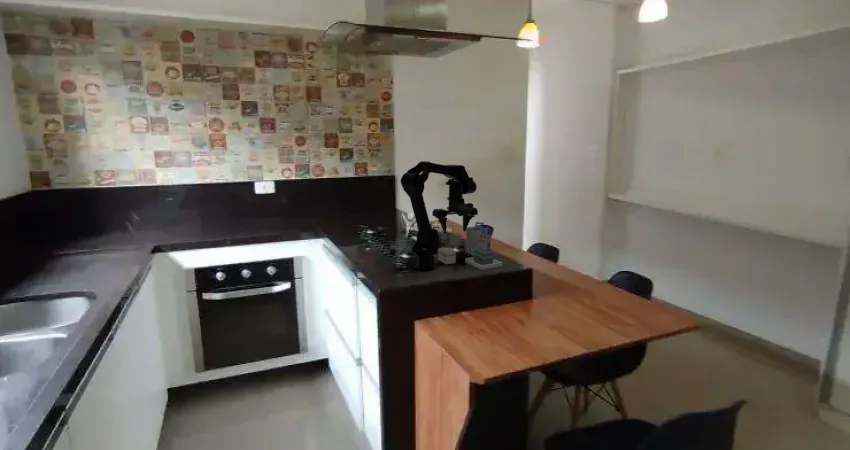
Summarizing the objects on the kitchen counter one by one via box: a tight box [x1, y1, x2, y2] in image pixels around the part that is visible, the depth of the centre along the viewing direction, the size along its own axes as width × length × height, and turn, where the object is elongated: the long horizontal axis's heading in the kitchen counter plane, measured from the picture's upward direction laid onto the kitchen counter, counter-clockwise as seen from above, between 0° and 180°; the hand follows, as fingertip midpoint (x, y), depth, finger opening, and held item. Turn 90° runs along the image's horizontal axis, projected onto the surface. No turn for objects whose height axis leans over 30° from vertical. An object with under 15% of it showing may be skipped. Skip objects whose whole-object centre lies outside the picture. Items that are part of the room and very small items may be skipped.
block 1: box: [437, 247, 457, 265], centre depth 194 cm, size 5×7×5 cm, turn 24°
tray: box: [464, 256, 503, 271], centre depth 189 cm, size 10×12×2 cm
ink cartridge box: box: [465, 221, 492, 257], centre depth 202 cm, size 10×6×14 cm, turn 66°
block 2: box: [473, 249, 494, 265], centre depth 189 cm, size 5×7×5 cm, turn 27°
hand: (454, 232), depth 194 cm, fingers open, 9 cm apart
